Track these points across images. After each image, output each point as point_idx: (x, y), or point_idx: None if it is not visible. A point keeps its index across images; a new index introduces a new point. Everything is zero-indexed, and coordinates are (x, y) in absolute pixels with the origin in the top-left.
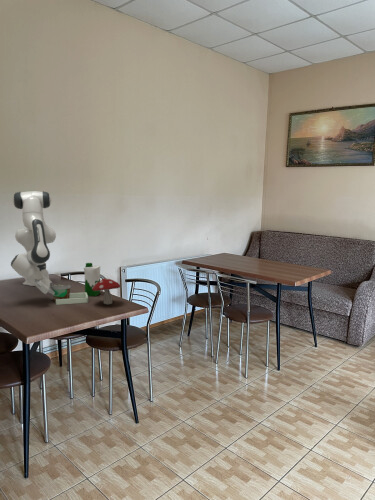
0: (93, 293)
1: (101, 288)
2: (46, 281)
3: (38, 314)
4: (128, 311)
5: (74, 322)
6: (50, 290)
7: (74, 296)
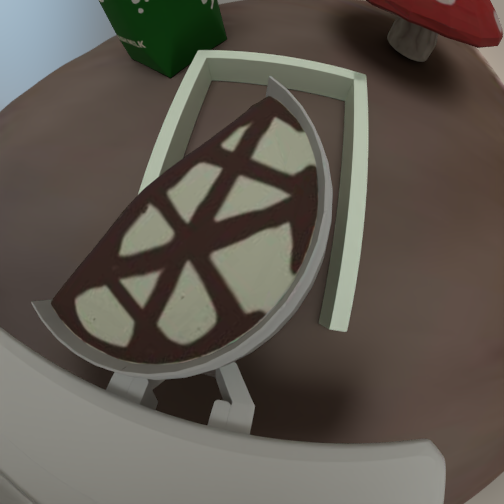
0: (218, 31)
1: (501, 33)
2: (51, 447)
3: (462, 430)
4: (485, 65)
5: None
6: (247, 402)
7: (186, 133)
